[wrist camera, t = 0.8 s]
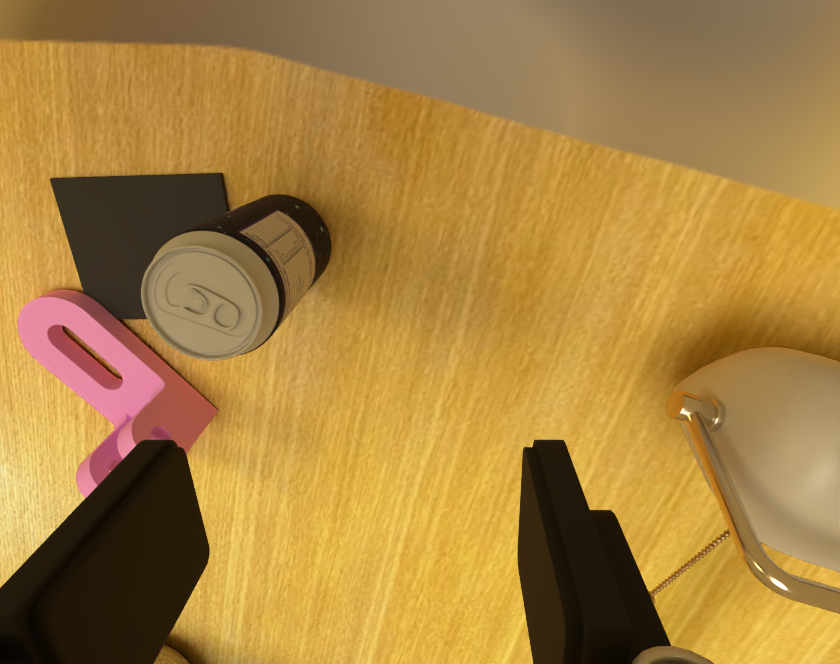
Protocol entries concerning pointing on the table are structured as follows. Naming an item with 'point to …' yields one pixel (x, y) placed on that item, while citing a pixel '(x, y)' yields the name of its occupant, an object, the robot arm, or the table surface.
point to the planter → (170, 657)
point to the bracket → (112, 379)
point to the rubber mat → (130, 227)
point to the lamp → (769, 460)
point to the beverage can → (235, 277)
